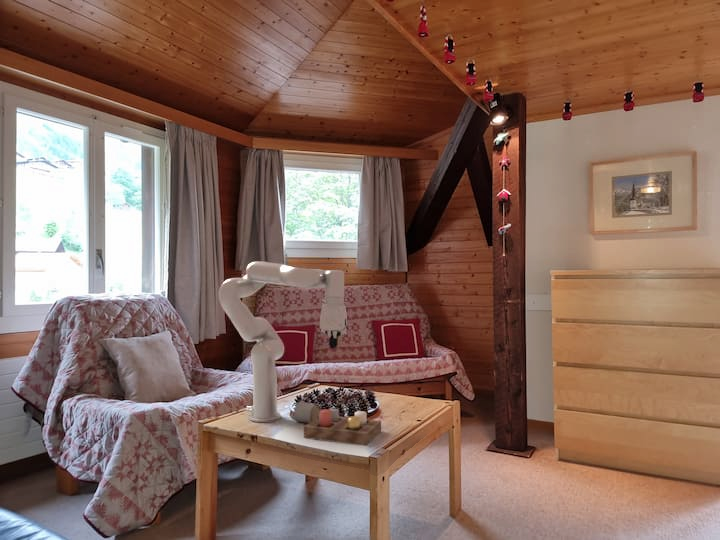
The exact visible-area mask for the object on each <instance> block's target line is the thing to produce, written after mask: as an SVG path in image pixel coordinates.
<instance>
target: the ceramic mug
mask: <svg viewBox="0 0 720 540" xmlns="http://www.w3.org/2000/svg"><path fill="white" fill-rule="evenodd" d="M319 411H320V407H319V406H318V405H317V404H315V403H309V402H304V401H297V403H296V404H295V407H294V410H293V417H294V420H295V421H296V422H300V423H306V424H309V423H310V422H312V421H313V420H315V419H317V417H318V416H319Z"/></svg>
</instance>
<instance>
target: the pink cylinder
mask: <svg viewBox="0 0 720 540" xmlns="http://www.w3.org/2000/svg"><path fill="white" fill-rule="evenodd" d="M328 409H329V408H328ZM328 409H327V408H326V409H319V426H320V427H330V426H332V411H331V410H328Z"/></svg>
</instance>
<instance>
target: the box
mask: <svg viewBox="0 0 720 540" xmlns="http://www.w3.org/2000/svg"><path fill="white" fill-rule="evenodd" d="M348 417H349V416H348ZM348 417H347V416H339V421H338V422H332V426H330V427H320V426H319V417H318V418H317V419H315V420H313V421H312V422H310V423H306V425H304V426H303V438H304V439H310V438H314V439H313V440H319V439H321V441H329V442H336V443H345V444H354V445H360V446H361V445H363V446H369V444H370V443H371V442H372V441H373V440H374V439H375V438H376V437H377V436H378V435H379V434H380V433H381V432H382V420H377V419H367V424H366V425H360V430H359V431H354V430H348Z"/></svg>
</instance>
